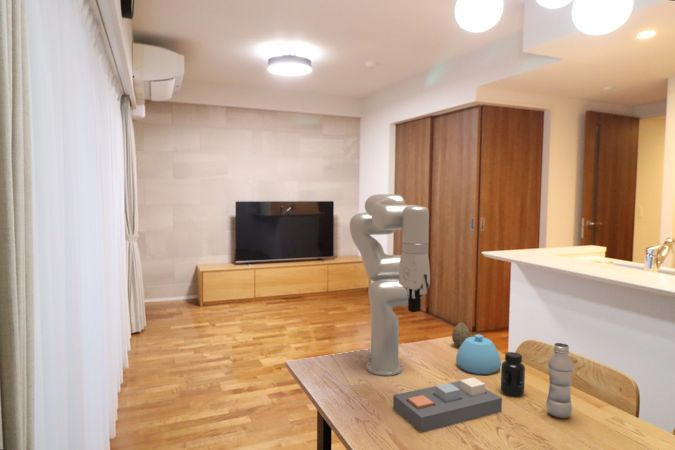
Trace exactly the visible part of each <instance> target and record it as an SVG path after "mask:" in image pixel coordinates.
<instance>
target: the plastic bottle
mask: <svg viewBox="0 0 675 450" xmlns="http://www.w3.org/2000/svg"><path fill="white" fill-rule="evenodd" d="M569 349H570V347H569V345H568V344H566V343H563V342H555V343H554V344H553V352H554V353H552V355H551V356H550V357H549V359H548V362H547V366H548V376H549V380H548V382H549V385H548V386H549V387H548V395H547V398H546V402H545V407H546V411H547V412H548V414H549V415H551V416H553V417H555V418H559V419H565V418H566V419H567V418H569V417H570V416H571V415H572V410H573V406H572V405H573V404H572V400H571V399H572V398H571V386H572V376H573V372H574V363H573V361H572V359H571V357H570V356H569V354H570V351H569Z"/></svg>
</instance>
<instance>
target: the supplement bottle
mask: <svg viewBox="0 0 675 450" xmlns="http://www.w3.org/2000/svg"><path fill="white" fill-rule="evenodd" d="M504 356H505V357H504V361H503V362H501V366H500V370H501V371H500V391H501V392H502V394H503V395H506V396H509V397H514V398H516V397H518V398H519V397H522V396H523V395H524V394H525V381H526V379H525V378H526V367H525V364H524V363H523V355H522V354H521V353H518V352H513V351H509V352H508V351H507V352H505V355H504Z"/></svg>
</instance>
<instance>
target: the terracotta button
mask: <svg viewBox="0 0 675 450" xmlns="http://www.w3.org/2000/svg"><path fill="white" fill-rule="evenodd" d="M408 402H409V403H410V404H411V405H413V406H414V407H415V408H416V409H422V408H426V407H431V406H434V402H432V401H431V400H429V399H428V398H427V397H425V396H424V395H421V396H416V397H412V398H408Z"/></svg>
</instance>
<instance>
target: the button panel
mask: <svg viewBox="0 0 675 450" xmlns="http://www.w3.org/2000/svg"><path fill="white" fill-rule="evenodd" d="M449 383H450V384H452V385H454V386H455V387H457V388H459V389H460V380H458V381H453V382H449ZM435 386H436V385H433V386H428V387H425V388H419V389H415V390H411V391H406V392H402V393H401V392H400V393H397V394H396V393H395V394H393V395H392V396H393V398H392V400H393V402H392V403H393V405H392V406H393V408H394V409H395V410H394V409H393V410H394V411H396V412H397V413H398V415H400V414H401V415H400V416H401V417H402V418H404V419H405V420H406V421H407V420H408V423H410V424H411V425H412V426H413V427H414V426H415V427H414V428H415V429H417V430H418V431H419V432H420V431H421V432H420V433H424V431H425V432H429V431H432V430H436V429H437V430H438V429H440V428H443V427H448V426H452V425H455V424H459V423H462V422H468V421H472V420H475V419H478V418H483V417H485V416H491V415H494V414H498V413H501V412H502V407H503V406H502V405H503V403H502V402H503V398H502V397H501V396H499V395H498V394H496V393H494V392H492V391H491V390H489V389H487V388H485V394H482V395H478V396H473V397H470V396H469V395H467V394H466V393H464V392H462V391H461V390H460V400H456V401H452V402H448V403H444V402H443V401H442V400H440V399H439V398H437V397H436V396H435ZM421 395H424V396H425V397H427V398H428V399H429V400H431V401H432V402H434V406H431V407H426V408H422V409H416V408H415V407H414V406H413V405H411V404H410V403H409V402H408V398H412V397H416V396H421ZM428 430H429V431H428Z"/></svg>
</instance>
